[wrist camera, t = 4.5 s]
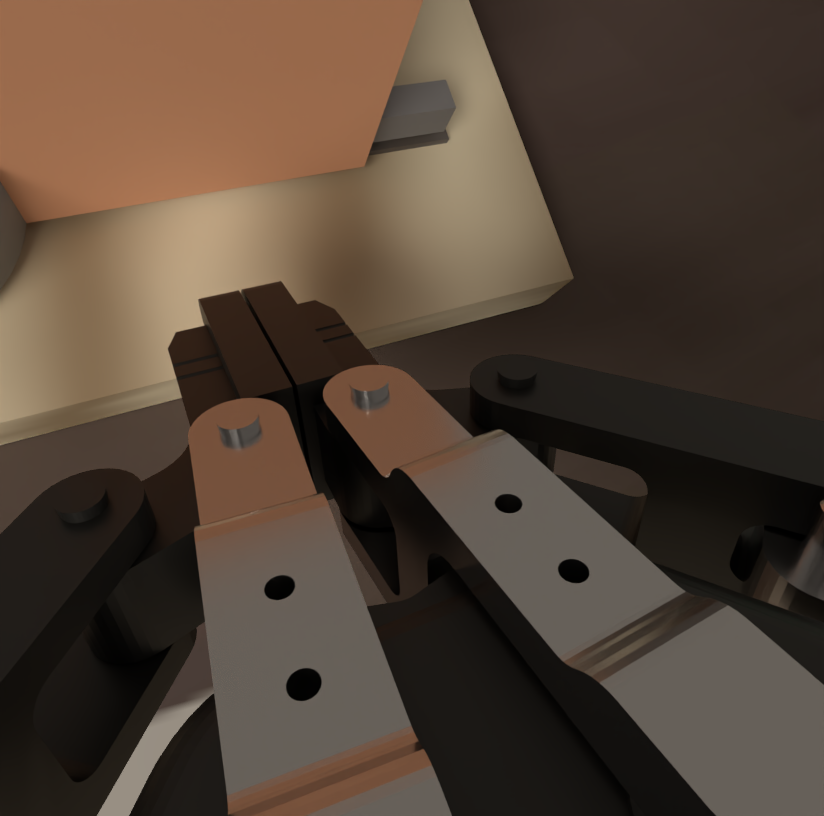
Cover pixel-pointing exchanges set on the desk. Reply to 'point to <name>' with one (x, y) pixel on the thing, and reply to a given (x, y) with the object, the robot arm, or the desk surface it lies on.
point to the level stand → (287, 251)
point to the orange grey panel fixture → (193, 99)
